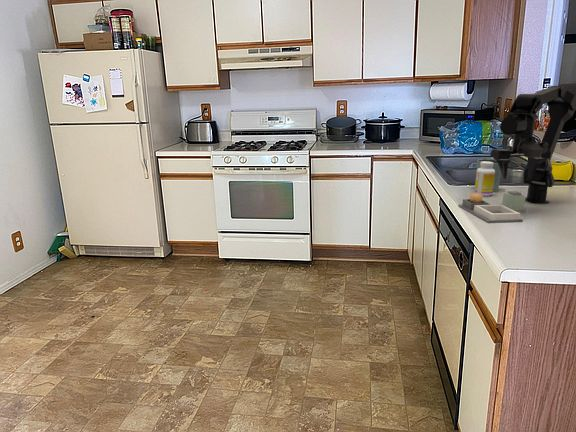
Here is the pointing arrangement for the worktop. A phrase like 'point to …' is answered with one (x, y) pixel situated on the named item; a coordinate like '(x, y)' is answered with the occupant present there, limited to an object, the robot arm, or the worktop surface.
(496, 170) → the drinking glass
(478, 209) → the chassis
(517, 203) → the pale green block
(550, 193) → the worktop surface
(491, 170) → the supplement bottle
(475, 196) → the click button
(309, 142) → the worktop surface
